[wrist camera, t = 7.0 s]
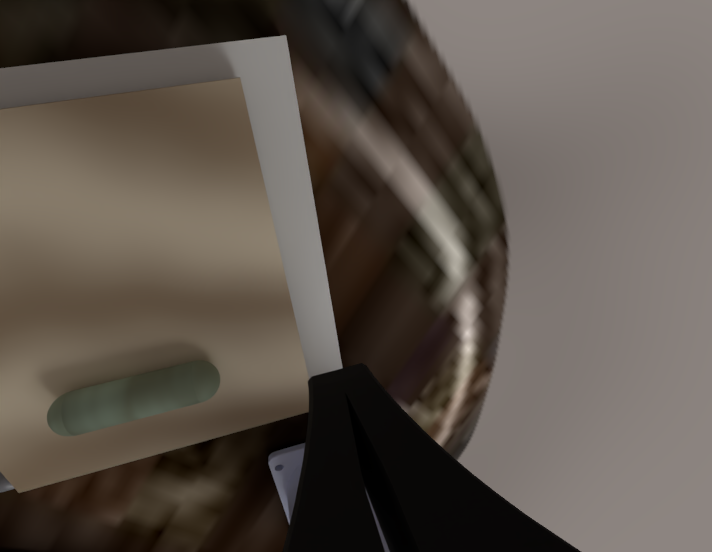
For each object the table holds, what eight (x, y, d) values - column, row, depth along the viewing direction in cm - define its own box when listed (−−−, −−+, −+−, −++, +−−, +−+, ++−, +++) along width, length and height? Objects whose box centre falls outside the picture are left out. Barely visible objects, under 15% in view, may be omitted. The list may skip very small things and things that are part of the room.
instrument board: (312, 394, 19) (322, 437, 17) (30, 471, 17) (-2, 531, 15) (240, 77, 13) (239, 78, 10) (-243, 140, 10) (-374, 159, 8)
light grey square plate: (341, 376, 22) (350, 407, 20) (18, 462, 19) (-7, 508, 17) (281, 38, 14) (288, 33, 12) (-278, 103, 11) (-388, 111, 9)
